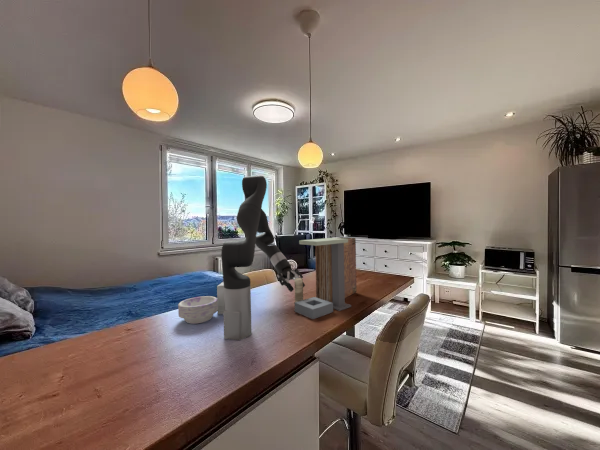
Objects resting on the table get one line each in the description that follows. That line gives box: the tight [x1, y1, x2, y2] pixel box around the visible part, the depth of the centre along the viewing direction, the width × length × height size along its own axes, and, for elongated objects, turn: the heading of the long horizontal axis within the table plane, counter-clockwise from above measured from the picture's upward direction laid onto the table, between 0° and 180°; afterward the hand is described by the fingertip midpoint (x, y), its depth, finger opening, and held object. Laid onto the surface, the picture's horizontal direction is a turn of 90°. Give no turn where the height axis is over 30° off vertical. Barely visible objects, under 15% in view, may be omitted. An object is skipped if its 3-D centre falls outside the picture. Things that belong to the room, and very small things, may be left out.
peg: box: [294, 278, 304, 302], centre depth 120 cm, size 4×4×12 cm
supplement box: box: [216, 281, 224, 315], centre depth 112 cm, size 7×7×13 cm
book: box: [314, 236, 358, 303], centre depth 129 cm, size 25×9×30 cm, turn 140°
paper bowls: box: [177, 295, 218, 325], centre depth 103 cm, size 15×15×8 cm
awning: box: [298, 237, 352, 312], centre depth 111 cm, size 11×22×32 cm, turn 129°
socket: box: [293, 296, 334, 320], centre depth 109 cm, size 12×12×4 cm
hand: (298, 288), depth 120 cm, fingers open, 8 cm apart
